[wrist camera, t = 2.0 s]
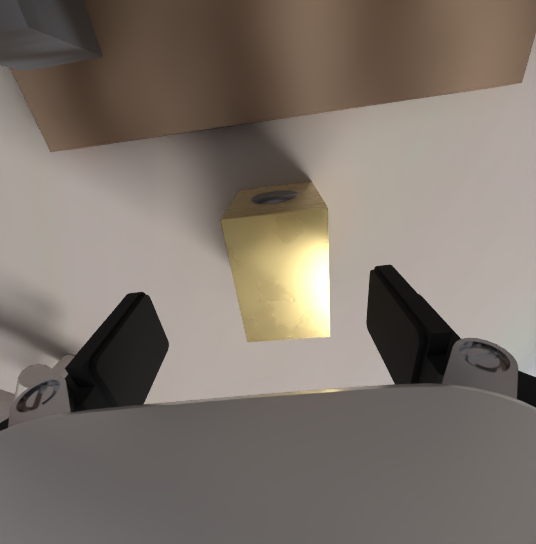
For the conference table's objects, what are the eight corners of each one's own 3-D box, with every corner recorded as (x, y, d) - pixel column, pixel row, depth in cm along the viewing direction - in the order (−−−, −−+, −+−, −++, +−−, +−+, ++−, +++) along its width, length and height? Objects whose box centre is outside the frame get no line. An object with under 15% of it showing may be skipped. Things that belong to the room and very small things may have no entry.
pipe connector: (21, 301, 21) (-163, 425, 12) (140, 350, 23) (57, 484, 14) (10, 372, 25) (-131, 501, 17) (112, 407, 28) (35, 537, 19)
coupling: (239, 189, 16) (220, 218, 11) (311, 180, 16) (327, 206, 11) (255, 285, 20) (247, 342, 14) (316, 279, 19) (329, 337, 14)
